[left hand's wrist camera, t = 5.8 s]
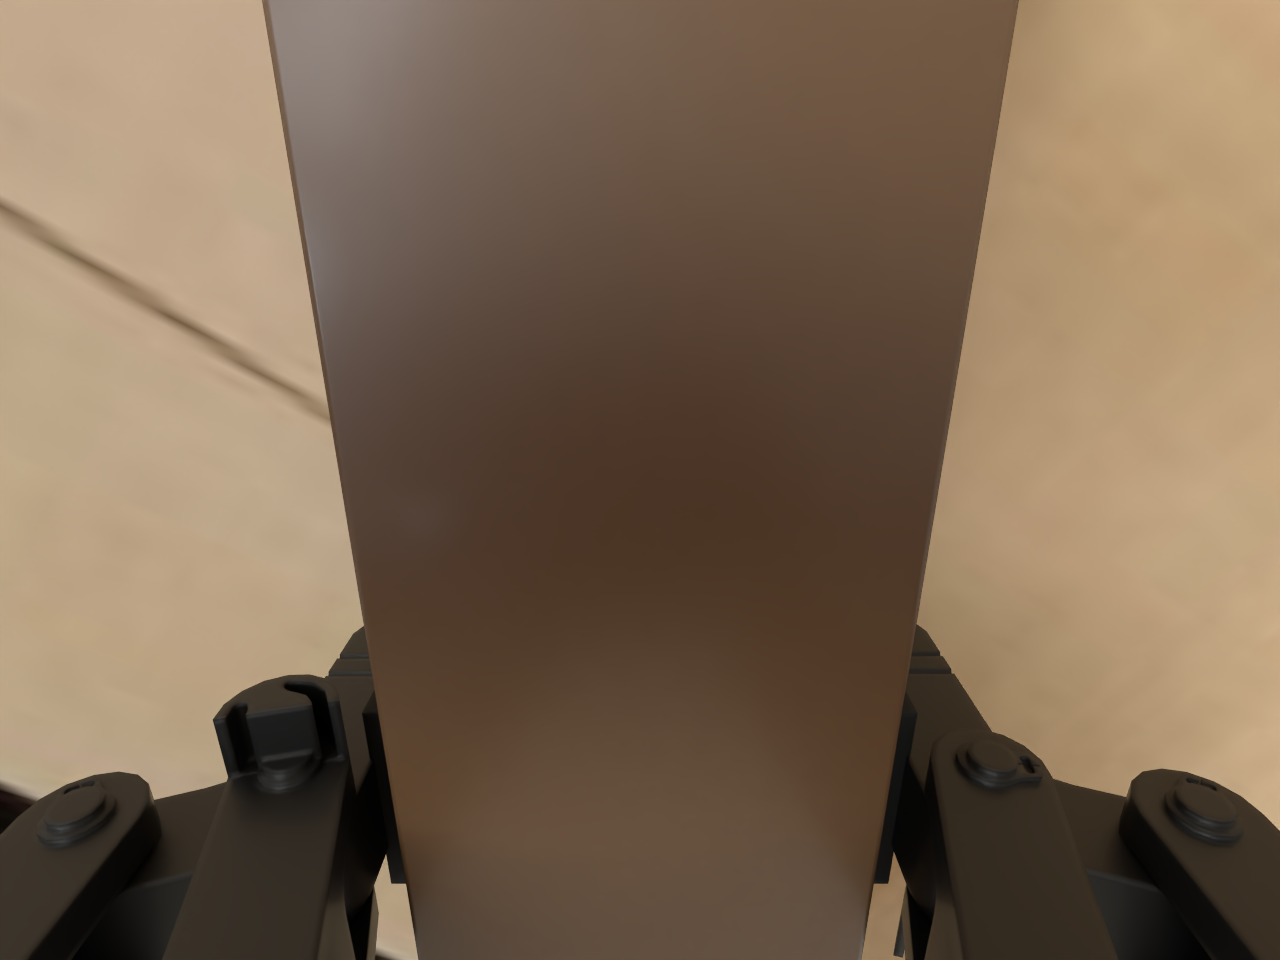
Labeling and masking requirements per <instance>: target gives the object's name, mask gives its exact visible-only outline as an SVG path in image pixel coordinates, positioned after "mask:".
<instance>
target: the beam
mask: <svg viewBox="0 0 1280 960" xmlns="http://www.w3.org/2000/svg"><path fill="white" fill-rule="evenodd" d="M1018 1H1019V0H262V2H263V8H264V14H265V21H266V27H267V33H268V39H269V45H270V51H271V57H272V64H273V70H274V76H275V82H276V88H277V94H278V100H279V106H280V113H281V119H282V125H283V131H284V137H285V143H286V149H287V156H288V162H289V168H290V174H291V180H292V186H293V192H294V199H295V205H296V211H297V217H298V223H299V229H300V235H301V241H302V248H303V254H304V260H305V266H306V272H307V278H308V284H309V291H310V297H311V303H312V309H313V315H314V321H315V327H316V334H317V340H318V346H319V352H320V358H321V364H322V370H323V376H324V383H325V389H326V395H327V401H328V407H329V413H330V419H331V426H332V432H333V438H334V444H335V450H336V456H337V462H338V469H339V475H340V481H341V487H342V493H343V499H344V505H345V511H346V518H347V524H348V530H349V536H350V542H351V548H352V554H353V561H354V567H355V573H356V579H357V585H358V591H359V597H360V604H361V610H362V616H363V622H364V628H365V634H366V640H367V646H368V653H369V659H370V665H371V671H372V677H373V683H374V689H375V696H376V702H377V708H378V714H379V720H380V726H381V732H382V739H383V745H384V751H385V757H386V763H387V769H388V775H389V781H390V788H391V794H392V800H393V806H394V812H395V818H396V824H397V831H398V837H399V843H400V849H401V855H402V861H403V867H404V874H405V880H406V886H407V892H408V898H409V904H410V910H411V916H412V923H413V929H414V935H415V941H416V947H417V953H418V959H419V960H861V958H862V952H863V946H864V940H865V933H866V927H867V921H868V915H869V909H870V903H871V897H872V891H873V885H874V879H875V872H876V866H877V860H878V854H879V848H880V842H881V836H882V830H883V824H884V818H885V812H886V805H887V799H888V793H889V787H890V781H891V775H892V769H893V763H894V757H895V751H896V745H897V738H898V732H899V726H900V720H901V714H902V708H903V702H904V696H905V690H906V684H907V678H908V671H909V665H910V659H911V653H912V647H913V641H914V635H915V629H916V623H917V617H918V611H919V604H920V598H921V592H922V586H923V580H924V574H925V568H926V562H927V556H928V550H929V544H930V537H931V531H932V525H933V519H934V513H935V507H936V501H937V495H938V489H939V483H940V477H941V470H942V464H943V458H944V452H945V446H946V440H947V434H948V428H949V422H950V416H951V410H952V403H953V397H954V391H955V385H956V379H957V373H958V367H959V361H960V355H961V349H962V343H963V336H964V330H965V324H966V318H967V312H968V306H969V300H970V294H971V288H972V282H973V276H974V269H975V263H976V257H977V251H978V245H979V239H980V233H981V227H982V221H983V215H984V209H985V202H986V196H987V190H988V184H989V178H990V172H991V166H992V160H993V154H994V148H995V142H996V135H997V129H998V123H999V117H1000V111H1001V105H1002V99H1003V93H1004V87H1005V81H1006V75H1007V68H1008V62H1009V56H1010V50H1011V44H1012V38H1013V32H1014V26H1015V20H1016V14H1017V8H1018Z"/></svg>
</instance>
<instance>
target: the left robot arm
mask: <svg viewBox="0 0 1280 960" xmlns="http://www.w3.org/2000/svg"><path fill="white" fill-rule="evenodd" d="M213 722H214V726H215V730H216V733H217V737H218V741H219V744H220V748H221V752H222V756H223V759H224V763H225V767H226V771H227V774H228V780H227V782H225V783H221V784H218V785H215V786H211V787H208V788H204V789H200V790H196V791H191V792H187V793H183V794H178V795H174V796H170V797H165V798H161V799H157V800H154V799H153V796H152V793H151V790H150V787H149V784H148V783H147V782H146V781H145V780H143V779H142V778H141V777H140V776H139V775H136V774H130V773H123V772H113V773H106V774H99V775H93V776H90V777H87V778H84V779H81V780H79V781H76V782H73V783H70V784H67V785H65V786H63V787H61V788H60V789H58V790H56V791H54V792H52V793H50V794H49V795H47V796H45V797H43V798H41V799H40V800H38V801H37V802H36V803H35V804H33V805H32V806H31V807H30V808H28V809H27V810H26V811H25V812H24V813H22V814H21V815H20V816H19V817H17V818H16V819H15V820H14V821H13V823H12V824H11V825H10V826H9V827H8V828H7V829H6V830H5V831H4V832H3V833H2V834H1V835H0V960H375V950H376V938H377V926H378V915H379V913H378V906H377V900H376V894H375V889H374V884H375V881H376V879H377V876H378V873H379V871H380V868H381V866H382V863H383V860H384V858H385V855H387V861H388V867H389V872H390V878H391V884H406V880H405V874H404V867H403V861H402V855H401V849H400V843H399V837H398V831H397V824H396V818H395V812H394V806H393V800H392V794H391V788H390V781H389V775H388V769H387V763H386V757H385V751H384V745H383V739H382V732H381V726H380V720H379V714H378V708H377V702H376V696H375V689H374V683H373V677H372V671H371V665H370V659H369V653H368V646H367V640H366V634H365V628H364V626H363V627H362V628H361V629H359V630H358V631H357V632H355V633H354V634H353V635H352V637H351V638H350V640H349V641H348V643H347V644H346V646H345V648H344V649H343V651H342V652H341V654H340V659H337V660H336V661H335V663H334V664H333V666H332V668H331V669H330V671H329V676H326V677H325V678H321V677H317V676H313V675H287V676H283V677H279V678H275V679H271V680H266V681H263V682H261V683H259V684H257V685H255V686H252V687H250V688H248V689H246V690H244V691H242V692H240V693H239V694H238V695H236V696H235V697H234V698H232V699H231V700H230V701H228V702H227V703H225V704H224V705H223V707H222V708H221V709H220V711H219V712H218V713H217V715H216V716H215V718H214V719H213ZM893 852H894V853H895V855H896V858H897V861H898V863H899V866H900V868H901V871H902V874H903V876H904V879H905V881H906V889H905V894H904V899H903V905H902V910H901V915H900V921H899V926H898V932H897V937H896V943H895V949H894V956H898V957H903V954H904V949H905V959H906V960H1280V831H1279V830H1278V829H1277V828H1276V827H1275V826H1274V825H1273V824H1272V823H1271V822H1270V821H1269V820H1268V819H1267V818H1266V817H1265V816H1264V815H1263V814H1262V813H1261V812H1260V811H1259V810H1257V809H1256V808H1255V807H1254V806H1252V805H1251V804H1250V803H1249V802H1247V801H1246V800H1245V799H1244V798H1242V797H1241V796H1240V795H1238V794H1236V793H1234V792H1232V791H1230V790H1229V789H1227V788H1225V787H1223V786H1221V785H1219V784H1218V783H1216V782H1214V781H1211V780H1208V779H1205V778H1203V777H1199V776H1196V775H1193V774H1191V773H1188V772H1182V771H1175V770H1167V769H1157V770H1150V771H1144V772H1142V773H1141V774H1139V775H1138V776H1137V777H1136V778H1135V779H1133V780H1132V782H1131V785H1130V788H1129V791H1128V794H1127V797H1123V796H1119V795H1114V794H1110V793H1106V792H1101V791H1097V790H1093V789H1088V788H1084V787H1080V786H1075V785H1071V784H1068V783H1065V782H1062V781H1058V780H1055V779H1053V778H1052V776H1051V774H1050V773H1049V771H1048V770H1047V768H1046V767H1045V765H1044V763H1043V762H1042V760H1040V759H1039V758H1038V757H1037V756H1036V755H1034V754H1033V753H1032V752H1031V751H1030V750H1029V749H1027V748H1026V747H1025V746H1023V745H1021V744H1019V743H1018V742H1016V741H1014V740H1012V739H1010V738H1008V737H1006V736H1004V735H1001V734H997V733H993V732H992V731H991V730H990V728H989V726H988V725H987V723H986V722H985V720H984V719H983V717H982V716H981V714H980V713H979V711H978V710H977V708H976V707H975V705H974V703H973V702H972V700H971V699H970V697H969V696H968V694H967V693H966V691H965V690H964V688H963V687H962V685H961V684H960V682H959V680H958V679H957V677H956V676H955V674H952V673H951V668H950V667H949V665H948V664H947V662H946V661H945V659H944V657H943V656H940V651H939V650H938V648H937V647H936V645H935V644H934V642H933V641H932V639H931V638H930V636H929V635H928V633H927V631H925V630H924V629H922V628H921V627H920V626H918V625H917V624H916V629H915V635H914V641H913V647H912V653H911V659H910V665H909V671H908V678H907V684H906V690H905V696H904V702H903V708H902V714H901V720H900V726H899V732H898V738H897V745H896V751H895V757H894V763H893V769H892V775H891V781H890V787H889V793H888V799H887V805H886V812H885V818H884V824H883V830H882V836H881V842H880V848H879V854H878V860H877V866H876V872H875V879H874V884H888V881H889V876H890V870H891V864H892V858H893Z"/></svg>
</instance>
